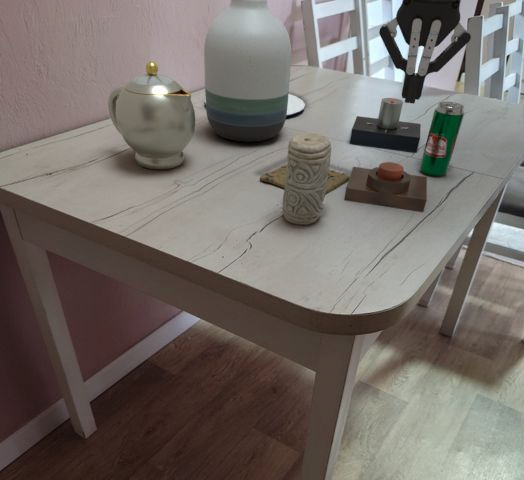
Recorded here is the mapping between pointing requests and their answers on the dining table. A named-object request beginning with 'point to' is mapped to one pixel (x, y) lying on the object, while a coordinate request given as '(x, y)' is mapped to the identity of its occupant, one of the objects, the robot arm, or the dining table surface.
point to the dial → (389, 113)
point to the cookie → (280, 174)
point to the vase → (247, 72)
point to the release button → (390, 171)
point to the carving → (306, 178)
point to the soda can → (442, 138)
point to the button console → (387, 190)
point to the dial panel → (385, 135)
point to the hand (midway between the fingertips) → (409, 101)
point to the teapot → (153, 118)
